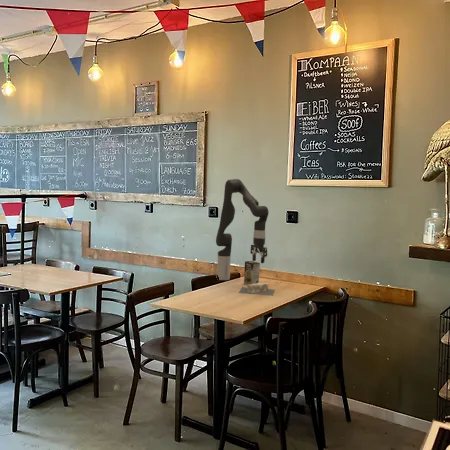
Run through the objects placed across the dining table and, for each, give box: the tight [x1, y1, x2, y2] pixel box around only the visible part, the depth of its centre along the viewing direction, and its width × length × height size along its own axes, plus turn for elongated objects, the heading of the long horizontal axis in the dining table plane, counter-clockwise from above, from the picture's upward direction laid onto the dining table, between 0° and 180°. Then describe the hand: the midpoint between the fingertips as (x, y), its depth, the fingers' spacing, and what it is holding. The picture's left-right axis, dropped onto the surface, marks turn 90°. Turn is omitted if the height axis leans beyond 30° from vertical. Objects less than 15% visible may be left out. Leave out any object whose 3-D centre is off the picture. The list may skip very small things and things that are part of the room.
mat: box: [238, 286, 276, 296], centre depth 306 cm, size 22×17×1 cm
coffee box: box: [243, 260, 261, 286], centre depth 325 cm, size 9×6×16 cm
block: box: [247, 282, 269, 293], centre depth 306 cm, size 5×5×13 cm
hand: (258, 262), depth 304 cm, fingers open, 8 cm apart
